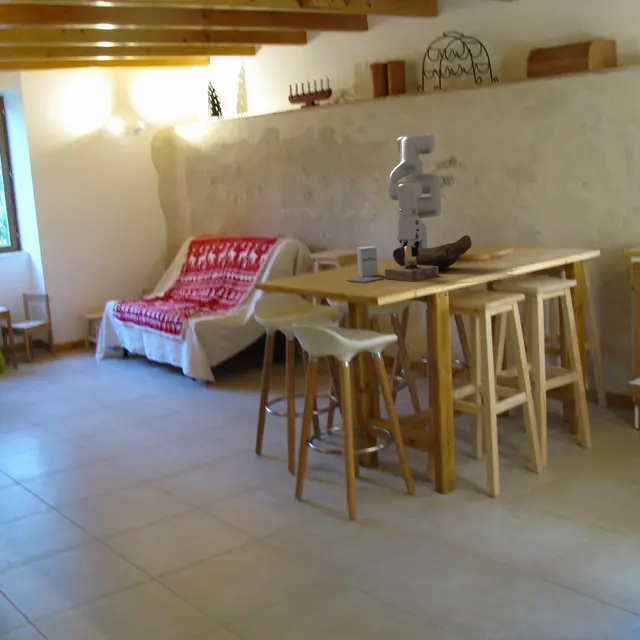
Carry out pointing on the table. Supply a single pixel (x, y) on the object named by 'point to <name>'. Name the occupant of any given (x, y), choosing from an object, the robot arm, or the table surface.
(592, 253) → the table surface
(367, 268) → the supplement box
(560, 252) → the table surface
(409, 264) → the tan mottled cylinder
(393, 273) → the bore block
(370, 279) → the slate mat
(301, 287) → the table surface
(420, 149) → the robot arm
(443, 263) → the driftwood
